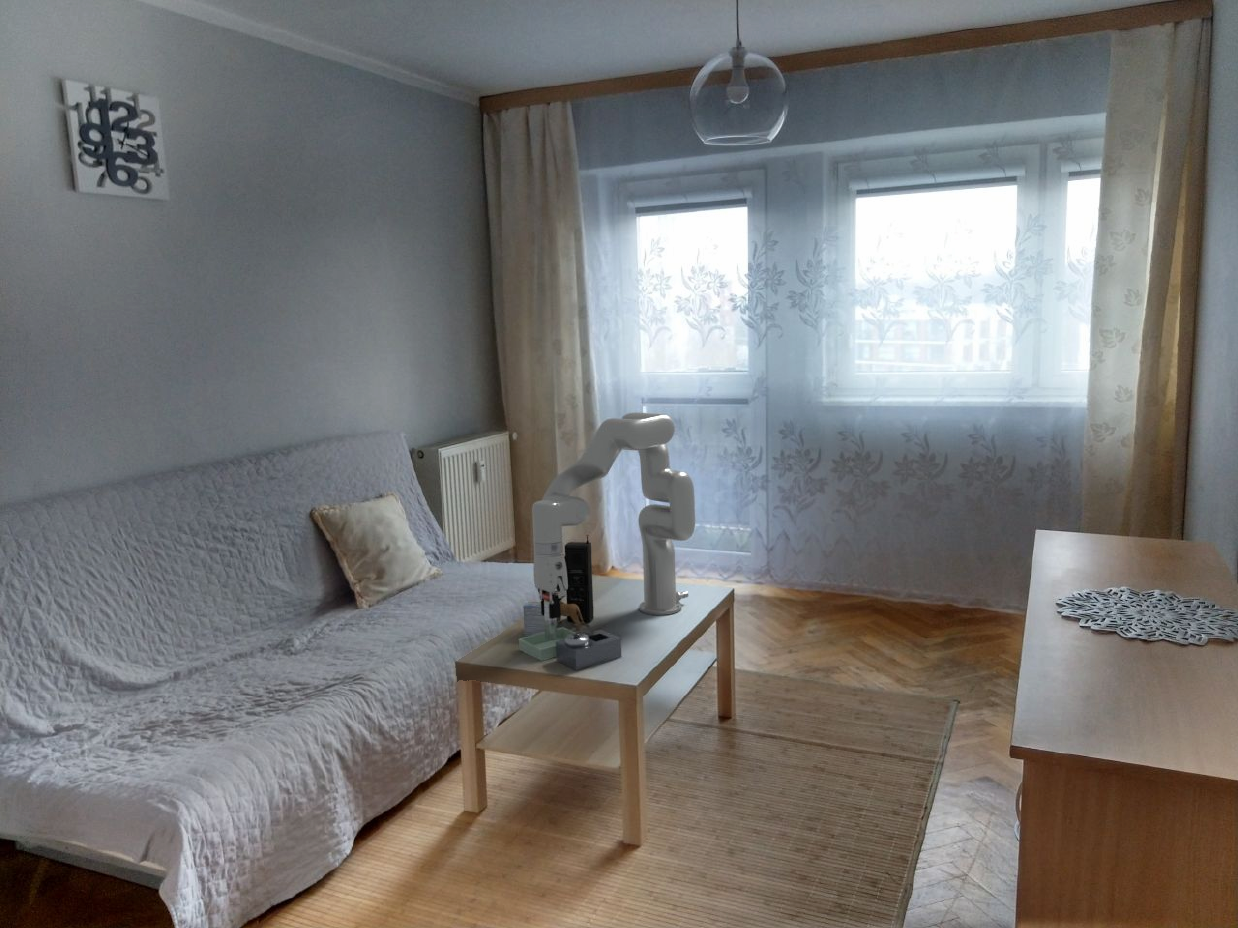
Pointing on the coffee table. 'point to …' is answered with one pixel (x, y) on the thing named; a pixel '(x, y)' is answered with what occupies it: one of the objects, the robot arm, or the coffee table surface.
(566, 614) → the lion figurine
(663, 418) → the robot arm
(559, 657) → the block
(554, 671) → the coffee table surface
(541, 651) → the tray
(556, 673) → the coffee table surface
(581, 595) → the portable radio
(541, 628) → the medicine box
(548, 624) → the pin
